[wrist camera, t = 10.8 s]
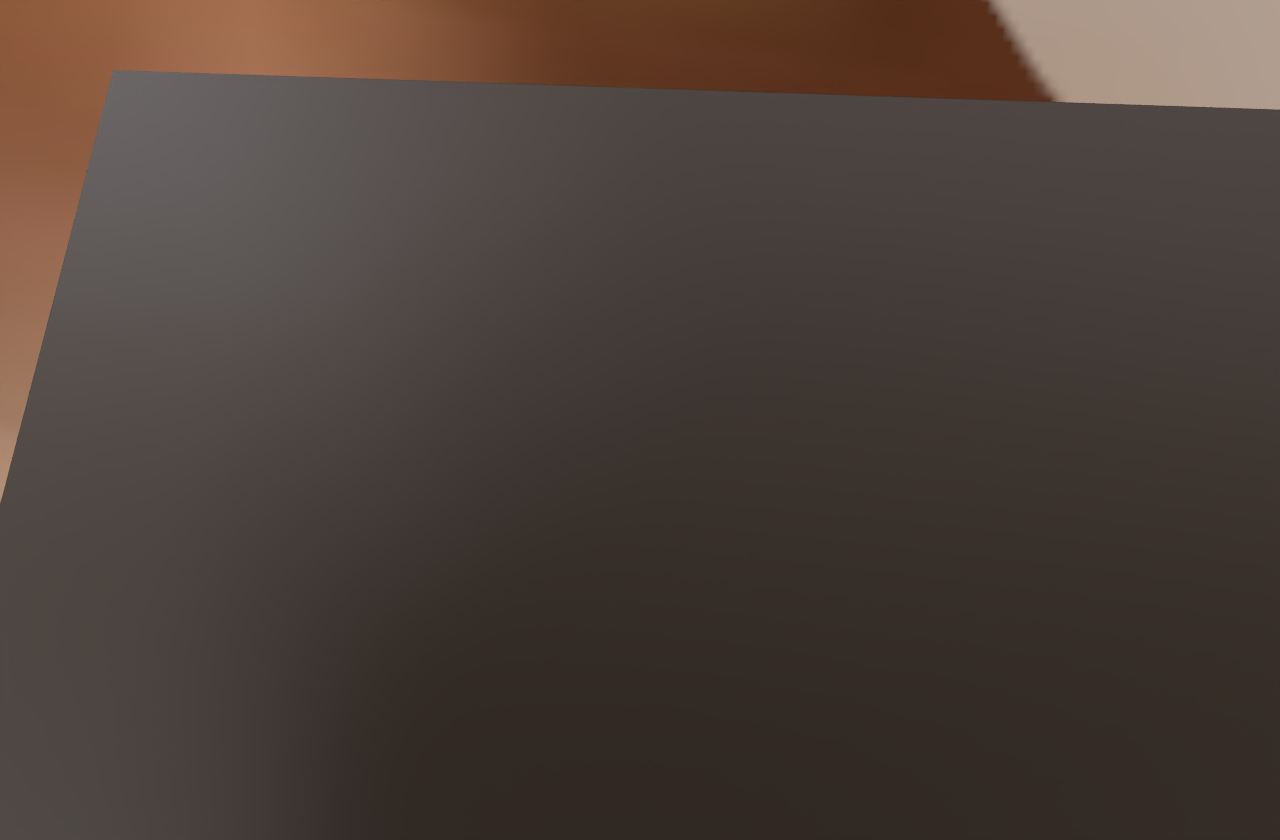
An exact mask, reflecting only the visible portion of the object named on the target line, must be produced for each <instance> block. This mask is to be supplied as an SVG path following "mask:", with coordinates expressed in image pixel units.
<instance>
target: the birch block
mask: <svg viewBox="0 0 1280 840" xmlns="http://www.w3.org/2000/svg"><path fill="white" fill-rule="evenodd" d="M0 840H1280V110H1270V109H1241V108H1213V107H1183V106H1154V105H1124V104H1095V103H1065V102H1036V101H1006V100H977V99H947V98H918V97H888V96H859V95H829V94H800V93H770V92H741V91H711V90H682V89H652V88H623V87H593V86H564V85H534V84H505V83H475V82H446V81H416V80H387V79H357V78H328V77H298V76H269V75H239V74H210V73H180V72H151V71H121V70H113V73H112V77H111V81H110V85H109V89H108V93H107V96H106V100H105V104H104V108H103V112H102V116H101V120H100V123H99V127H98V131H97V135H96V139H95V143H94V146H93V150H92V154H91V158H90V162H89V166H88V169H87V173H86V177H85V181H84V185H83V189H82V192H81V196H80V200H79V204H78V208H77V212H76V216H75V219H74V223H73V227H72V231H71V235H70V239H69V242H68V246H67V250H66V254H65V258H64V262H63V265H62V269H61V273H60V277H59V281H58V285H57V288H56V292H55V296H54V300H53V304H52V308H51V311H50V315H49V319H48V323H47V327H46V331H45V335H44V338H43V342H42V346H41V350H40V354H39V358H38V361H37V365H36V369H35V373H34V377H33V381H32V384H31V388H30V392H29V396H28V400H27V404H26V407H25V411H24V415H23V419H22V423H21V427H20V431H19V434H18V438H17V442H16V446H15V450H14V454H13V457H12V461H11V465H10V469H9V473H8V477H7V480H6V484H5V488H4V492H3V496H2V500H1V503H0Z"/></svg>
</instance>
